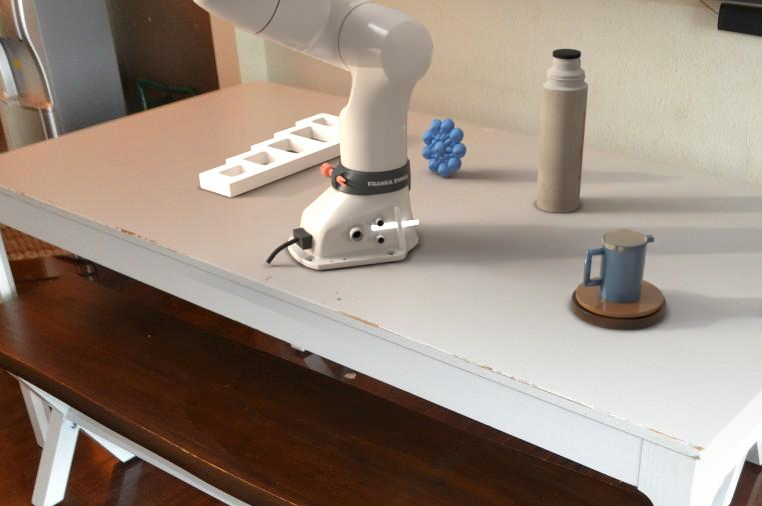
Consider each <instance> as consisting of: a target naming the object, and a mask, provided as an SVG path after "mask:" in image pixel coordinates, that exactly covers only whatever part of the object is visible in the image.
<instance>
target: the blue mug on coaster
mask: <svg viewBox="0 0 762 506" xmlns="http://www.w3.org/2000/svg"><path fill="white" fill-rule="evenodd" d="M654 242H655V237H654V236H653V235H652V234H644V233H642V232H640V231H636V230H633V229H621V228H619V229H613V230H609V231H606V232H605V233H603V236H602V243H601V247H595V248H587V249H586V250H585V252H584V266H583V275H582V282H581V283H580V284H578V285H577V287H576V289H575V290H576V300H577V301H578V303H579V304H580V305H581V306H583V307H584V308H586V309H587V310H589V311H592V312H594V313H597V314H600V315H604V316H610V317H618V318H633V317H641V316H645V315H648V314H651V313H653V312H655V311H657V310H658V309H659V308H660V307H661V306H662V304H663V296H664V294H663V292H662V291H661V289H660V288H659V287H657V286H656V285H655V284H653V283H651V282H649V281H647V280H645V279H644V273H645V265H646V257H647V249H648V248H647V247H648V244H651V243H652V244H653V243H654ZM594 256H600V264H599V276H595V277H591V272H592V262H593V261H592V260H593V257H594Z"/></svg>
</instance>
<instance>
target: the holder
mask: <svg viewBox="0 0 762 506" xmlns="http://www.w3.org/2000/svg"><path fill="white" fill-rule="evenodd" d="M338 157H341V152H340V136H339V116H337V115H332V114H329V113H324V112H321V113H318V114H315V115H313V116H309V117H307V118H304V119H301V120H300V119H299V120H297V121H295V126H292V127H289V128H286V129H284V130H280V131H277V132H274V133H273V138H270V139H268V140H264V141H262V142H259V143H255V144H253V145H251V146H250V150H248V151H246V152H243V153H240V154H238V155H235V156H232V157H228V158H226V159H225V164H222V165H219V166H217V167H214V168H212V169H209V170H206V171H203V172H201V173H199V174H198V176H199V184H200V188H201V189H203V190H207V191H209V192H213V193H216V194H219V195H221V196H226V197H229V198H234V197H236V196H239V195H241V194H243V193H247V192H249V191H251V190H254V189H257V188H259V187H262V186H265V185H267V184H270V183H273V182H275V181H279V180H280V179H283V178H286V177H289V176H290V175H294V174H296V173H299V172H301V171H304V170H306V169H308V168H309V169H310V168H312V167H314V166H317V165H319V164H322V163H325V162H327V161H330V160H332V159H335V158H338Z"/></svg>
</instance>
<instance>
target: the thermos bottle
mask: <svg viewBox="0 0 762 506" xmlns="http://www.w3.org/2000/svg"><path fill="white" fill-rule="evenodd" d="M552 57H553V59H552V66H551V67H549V68H548V69H547V71H546V76H545V78H546V80H545V81H544V82H543V83H542V88H541V89H542V91H541V106H540V107H541V110H540V128H539V145H538V146H539V150H538V152H539V153H538V157H539V158H538V170H537V187H536V189H537V190H536V207H538V208H539V209H540V210H542V211H545V212H549V213H555V214H556V213H557V214H558V213H561V214H563V213H569V212H573V211H575V210H577V209H578V208H579V207H580V198H581V187H582V172H583V171H582V170H583V160H584V156H583V155H584V143H585V134H586V133H585V132H586V120H587V119H586V118H587V105H588V95H589V94H588V93H589V84H588V83H587V82H586V81H585V79H586V77H587V76H586V70H584V69H583V68H582V67H581V65H582V64H581V63H582V60H581V57H582V52H581V51H580V50H578V49H574V48H558V49H554V50H553V51H552Z"/></svg>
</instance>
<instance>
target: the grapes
mask: <svg viewBox="0 0 762 506" xmlns="http://www.w3.org/2000/svg"><path fill="white" fill-rule="evenodd" d="M455 126H456V125H455V122H454V120H453V119H452V118H449V117H447V118H444V119H443V120H441V119H438V118H436V119H434V120H432V121H431V123H430V126H429V129H427V130H425V132H424V133H423V135H422V142H423V143H424V144H425V145H424V146H423V147H422V150H421V156H422V157H423V159H425V160H427V161H428V163H427V168H428V170H429V171H430V172H431V173H437V172H438V174H439V175H440V176H441V177H442V178H446V177H449V176H450V175H451V173H452V172H453V173H455V172H459V170H460V169H461V167H462V163H463V162H462V159H463V158H464V157H465V156H466V154H467V146H466V145H465V144H464V143H462V141H463V139H464V137H465V133H464V131H463V130H462V129H461V128H460V127H455Z"/></svg>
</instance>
